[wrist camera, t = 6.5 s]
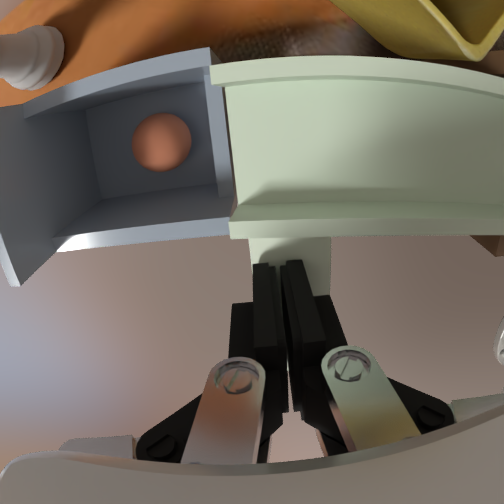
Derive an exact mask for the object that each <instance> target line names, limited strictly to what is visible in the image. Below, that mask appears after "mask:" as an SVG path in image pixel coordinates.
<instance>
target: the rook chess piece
mask: <svg viewBox="0 0 504 504" xmlns="http://www.w3.org/2000/svg"><path fill="white" fill-rule="evenodd" d="M63 56H64V41H63V37H62V34H61V33H60V32H59V31H58V30H57V29H56V28H55V27H51V26H42V25H35V26H32V27H29V28H27V29H25V30H23V31H20V32H18V33H17V34H6V35H0V78H4V79H5V80H6V82H8V83H10V84H11V86H13V87H15V88H18V89H21V90H25V89H28V90H35V89H40V88H42V87H43V86H44V85H46V84H47V83H48V82H50V81H51V79H52V78H53V76H54V75H55V74H56V72H57V71H58V69H59V67H60V65H61V62H62V60H63Z"/></svg>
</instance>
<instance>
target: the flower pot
mask: <svg viewBox="0 0 504 504" xmlns="http://www.w3.org/2000/svg"><path fill="white" fill-rule="evenodd" d="M329 1H331V2H332V3H333V4H334V5H336V6H337V7H338V8H340V9H341V10H342V11H343V12H345V13H346V14H347V15H348V16H349V17H351V18H352V19H353V20H354V21H355V22H357V23H358V24H359V25H360V26H361V27H362V28H363V29H364V30H366V31H367V32H368V33H369V34H370V35H371V36H372V37H373V38H374V39H375V40H377V41H378V42H379V43H380V44H381V45H383V46H384V47H386V48H387V49H388V50H390V51H392V52H394V53H396V54H398V55H400V56H403V57H407V58H414V59H448V60H465V61H475V62H478V61H481V60H482V59H483V58H484V57H485V56H486V55H487V53H488V52H489V51H490V49H491V48H492V47H493V45H494V44H495V42H496V41H497V39H498V38H499V37H500V35H501V33H502V32H503V30H504V0H329Z"/></svg>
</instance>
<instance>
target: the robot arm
mask: <svg viewBox="0 0 504 504" xmlns="http://www.w3.org/2000/svg"><path fill="white" fill-rule="evenodd" d="M252 269H253V302H246V303H234V304H232V312H231V326H230V341H229V356H228V359H225V360H223V361H221V362H219V363H218V364H216V365H215V366H214V367H213V368H212V370H211V371H210V373H209V375H208V378H207V382H206V385H205V388H204V391H203V393H202V394H201V395H199V396H198V397H197V398H195V399H194V400H192V401H191V402H189V403H188V404H187V405H185V406H184V407H183V408H181V409H179V410H178V411H177V412H175V413H174V414H172V415H171V416H169V417H168V418H166V419H165V420H163V421H162V422H160V423H159V424H157V425H156V426H154V427H153V428H152V429H150V430H148V431H147V432H146V433H144V434H143V435H142V436H141V437H139V438H134V437H133V436H132V435H125V436H114V437H101V438H100V437H99V438H78V439H71V440H68V441H67V442H65V443H64V444H63V445H62V446H61V447H60V448H59V451H42V452H35V453H29V454H25V455H22V456H19V457H17V458H15V459H13V460H12V461H10V462H9V463H8V464H7V465H6V466H5V467H4V469H3V470H2V472H1V473H0V504H504V388H503V390H502V392H501V394H495V395H490V396H483V397H476V398H467V399H459V400H452V402H451V404H446V403H445V402H443V401H441V400H440V399H437V398H435V397H432V396H430V395H428V394H425V393H423V392H420V391H418V390H416V389H413V388H411V387H409V386H406V385H404V384H402V383H399V382H397V381H395V380H393V379H390V378H388V377H386V375H385V374H384V372H383V370H382V369H381V367H380V366H379V364H378V362H377V361H376V359H375V358H374V357H373V355H372V354H371V353H370V352H368V351H366V350H365V349H363V348H360V347H357V346H348V344H347V341H346V338H345V336H344V333H343V330H342V327H341V324H340V322H339V319H338V316H337V313H336V311H335V308H334V305H333V302H332V300H331V297H330V295H319V296H313V293H312V290H311V287H310V283H309V280H308V277H307V274H306V270H305V267H304V264H303V261H302V259H300V260H289V261H286V265H281V266H280V278H281V295H282V309H281V302H280V295H279V288H278V281H277V274H276V268H275V266H270V267H269V263H268V262H267V263H256V264H252ZM282 313H283V316H282ZM494 354H495V357H496V358H497V360H498V361H499V363H501V364H502V365H504V317H503V319H502V321H501V323H500V325H499V327H498V330H497V333H496V336H495V341H494ZM287 362H288V370H289V377H290V385H291V393H292V400H293V409H294V412H297V411H300V412H301V419H302V420H304V421H305V422H306V423H307V424H309V425H311V426H313V427H314V428H315V431H316V436H317V438H318V441H319V444H320V447H321V449H322V452H323V455H324V457H321V458H314V459H306V460H298V461H288V462H278V463H269V459H270V452H271V444H272V434H273V433H274V432H275V431H276V430H277V429H278V428H279V427H280V426H281V425H282V424H283V418H282V413H286V412H289V405H288V373H287V372H288V370H287Z"/></svg>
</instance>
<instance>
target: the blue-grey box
mask: <svg viewBox="0 0 504 504" xmlns="http://www.w3.org/2000/svg"><path fill="white" fill-rule="evenodd" d="M218 64H223V63H222V62H221V61H220V59H219V58H218V57H217V56H216V54H215V53H214V52H213V51H212V50H211V48H210V47H206V48H200V49H194V50H189V51H183V52H178V53H173V54H168V55H164V56H159V57H155V58H151V59H147V60H143V61H139V62H135V63H131V64H128V65H124V66H121V67H117V68H114V69H111V70H107V71H104V72H101V73H98V74H95V75H92V76H89V77H86V78H83V79H81V80H78V81H75V82H73V83H70V84H67V85H65V86H62V87H60V88H57V89H55V90H52V91H50V92H48V93H45V94H43V95H41V96H39V97H36V98H34V99H32V100H30V101H28V102H26V103H23V104H19V105H12V106H5V107H0V262H1V265H2V268H3V270H4V272H5V275H6V277H7V280H8V282H9V284H10V286H21V285H22V284H23V283H24V282H25V281H26V280H27V279H28V278H29V277H30V276H31V275H32V274H33V273H34V272H35V271H36V270H37V269H38V268H39V267H40V266H42V265H43V264H44V263H45V262H46V261H47V260H48V259H49V258H50V257H51V256H52V255H53V254H54V253H55V252H60V251H69V250H78V249H86V248H96V247H106V246H115V245H124V244H134V243H145V242H155V241H165V240H175V239H186V238H196V237H208V236H219V235H230V231H229V224H228V221H229V220H230V218H231V216H232V215H233V213H234V211H235V210H236V208H237V204H238V198H237V190H236V181H235V173H234V164H233V155H232V147H231V138H230V129H229V120H228V111H227V102H226V93H225V87H221V86H215V85H211V77H210V68H209V66H212V65H218ZM157 113H169V114H173V115H175V116H177V117H179V118H180V119H182V120H183V121H184V122H185V123H186V125H187V126H188V128H189V131H190V134H191V148H190V151H189V154H188V156H187V158H186V159H185V160H184V161H183V163H181V164H180V165H179V166H178V167H176V168H174V169H172V170H170V171H166V172H154V171H150V170H148V169H146V168H144V167H143V166H142V165H140V164H139V162H138V161H137V160H136V158H135V157H134V154H133V151H132V137H133V133H134V131H135V129H136V128H137V126H138V125H139V124H140V122H141V121H143V120H144V119H145V118H147V117H148V116H151V115H153V114H157Z"/></svg>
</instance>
